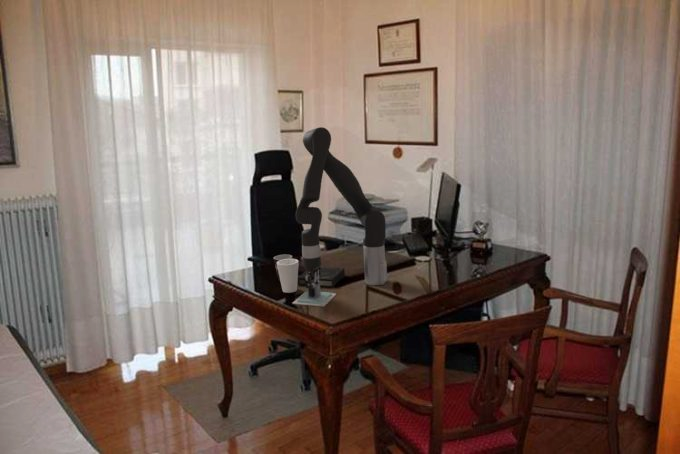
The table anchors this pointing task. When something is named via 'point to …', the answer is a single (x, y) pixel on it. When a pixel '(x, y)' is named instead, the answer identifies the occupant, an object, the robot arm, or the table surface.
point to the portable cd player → (325, 276)
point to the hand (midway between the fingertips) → (314, 294)
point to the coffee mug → (280, 257)
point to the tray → (314, 303)
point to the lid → (318, 298)
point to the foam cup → (288, 274)
